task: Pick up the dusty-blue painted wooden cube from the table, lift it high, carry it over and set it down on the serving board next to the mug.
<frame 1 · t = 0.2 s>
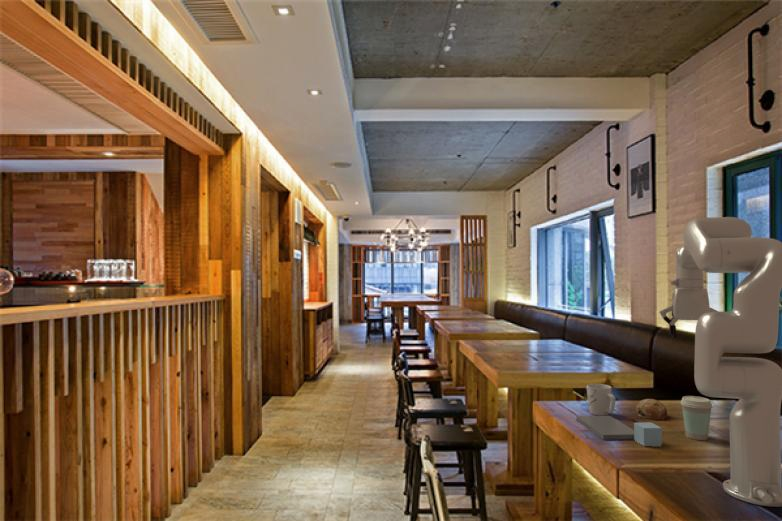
hand: (690, 338, 159), 31 cm above the table, fingers open, 9 cm apart
cube: (647, 443, 150), on the table
board: (606, 429, 163), on the table
coffee cup: (696, 437, 155), on the table
bread roll: (652, 416, 179), on the table
mug: (602, 415, 180), on the table
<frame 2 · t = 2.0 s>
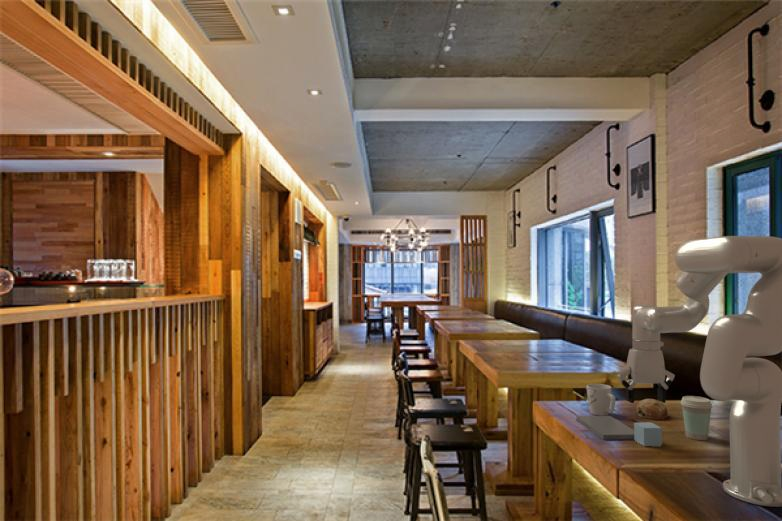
hand: (645, 401, 151), 12 cm above the table, fingers open, 9 cm apart
nothing on the table moved.
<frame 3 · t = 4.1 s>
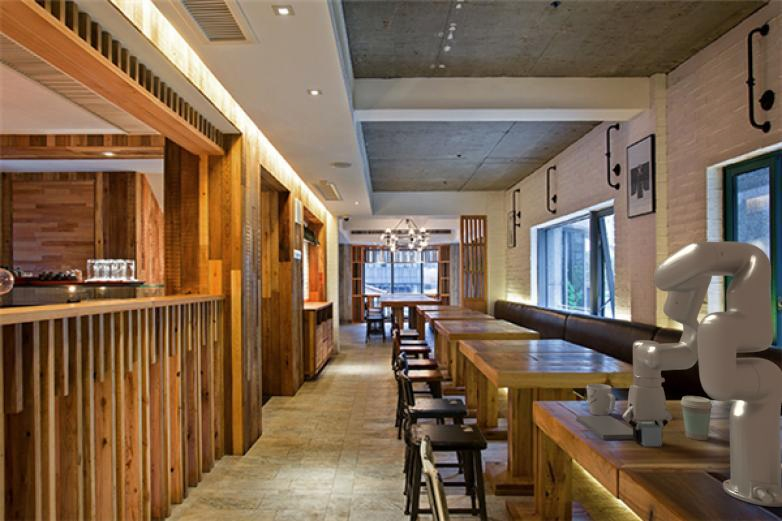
hand: (647, 441, 150), 1 cm above the table, fingers closed on cube, 5 cm apart
cube: (647, 443, 150), on the table, touching gripper
everything else where it was.
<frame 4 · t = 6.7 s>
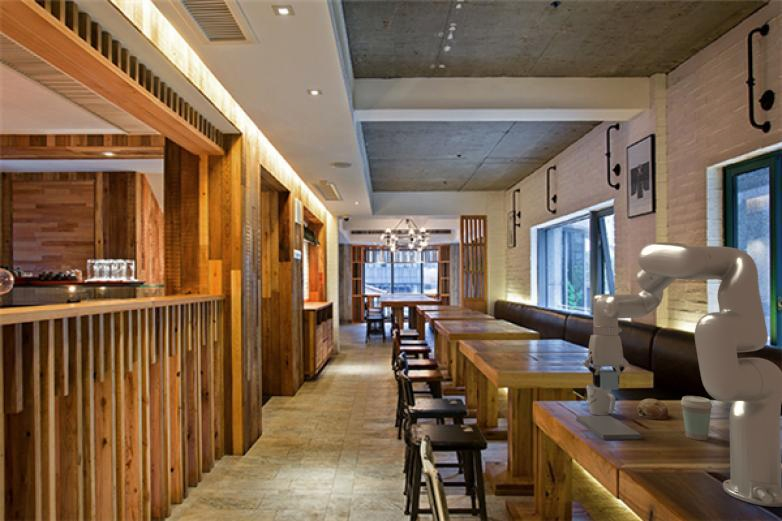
hand: (606, 385, 164), 14 cm above the table, fingers closed on cube, 5 cm apart
cube: (606, 387, 164), point 14 cm above the table, touching gripper
everything else where it was.
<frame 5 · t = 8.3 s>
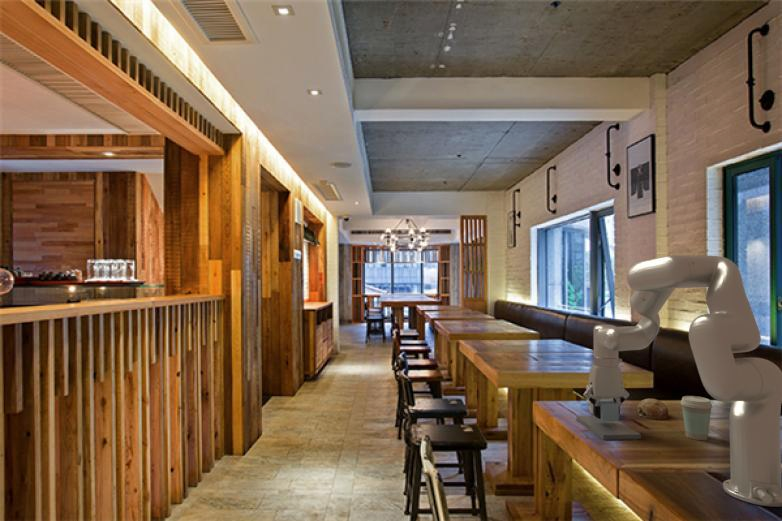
hand: (606, 416, 163), 4 cm above the table, fingers closed on cube, 5 cm apart
cube: (606, 418, 163), point 3 cm above the table, touching gripper
everything else where it was.
when the fingers open (3 cm above the table, at t = 9.4 s): cube drops 1 cm, resting on board.
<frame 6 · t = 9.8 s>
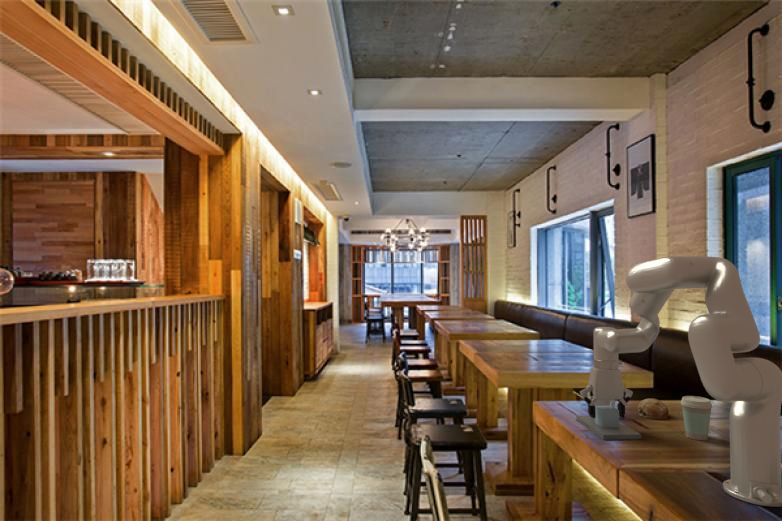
hand: (606, 416, 163), 4 cm above the table, fingers open, 9 cm apart
cube: (606, 424, 163), point 1 cm above the table, touching board
everything else where it was.
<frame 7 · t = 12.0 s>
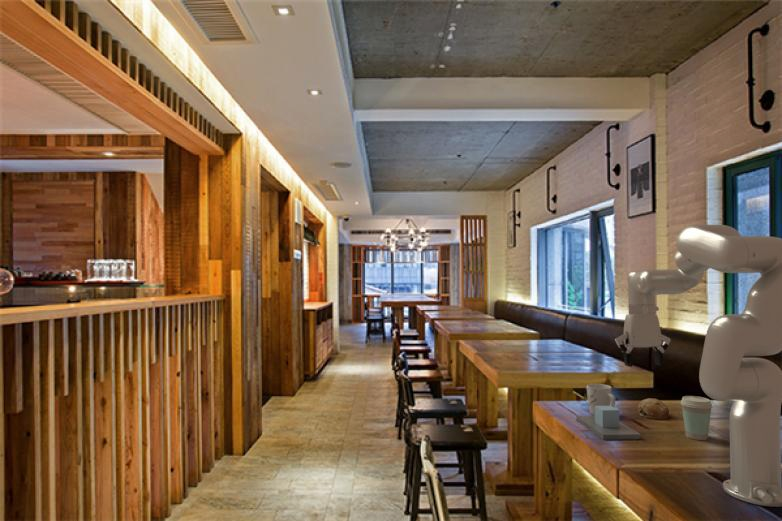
hand: (643, 365, 154), 23 cm above the table, fingers open, 9 cm apart
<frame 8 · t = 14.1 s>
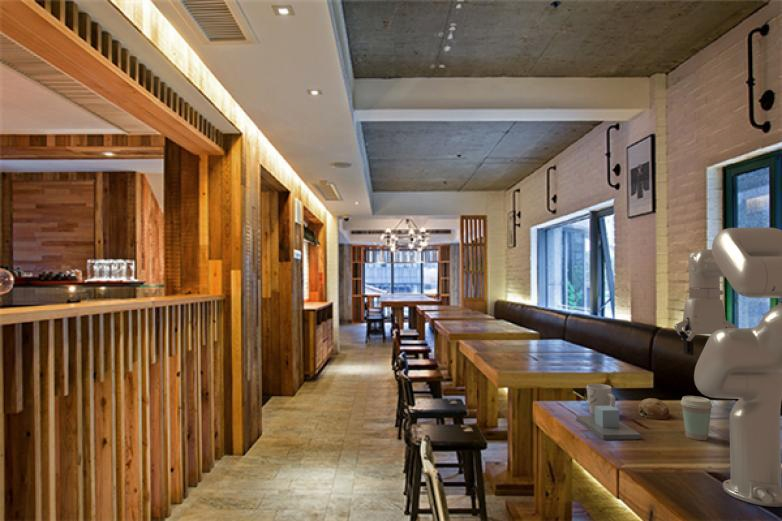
hand: (705, 354, 141), 28 cm above the table, fingers open, 9 cm apart
at the end: cube inside the target area on the board (0.0 cm from its centre), point 1.5 cm above the board's base; cube tilted 0°; the gripper is holding nothing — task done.
